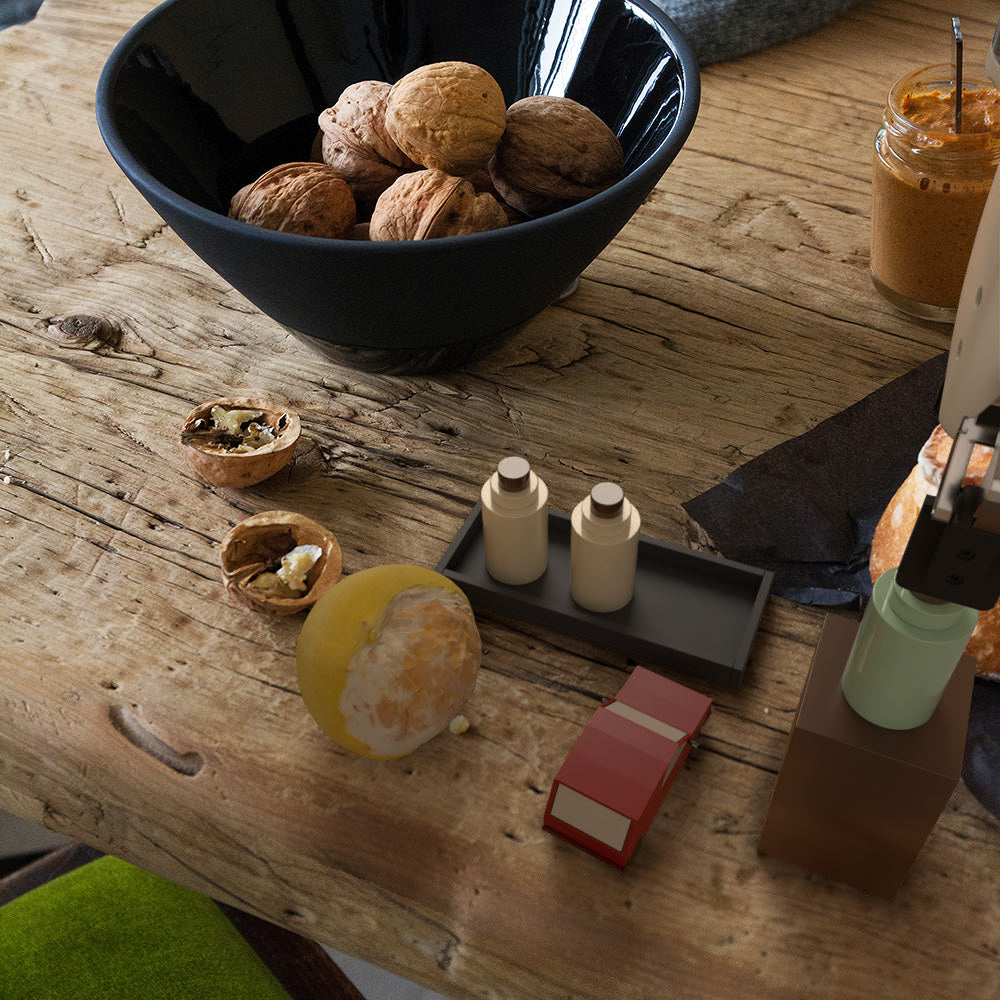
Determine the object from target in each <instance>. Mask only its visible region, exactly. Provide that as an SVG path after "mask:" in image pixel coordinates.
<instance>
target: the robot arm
mask: <svg viewBox="0 0 1000 1000" xmlns="http://www.w3.org/2000/svg"><path fill="white" fill-rule="evenodd" d="M984 69H985V73H986V76H987V79H988V80H989V81H990V82H991V83H992V85H993V87H994V88H995V89H996V90H997V91H998V92H999V93H1000V16H999V17H998V21H997V23H996V27H995V30H994V33H993V37H992V39H991V42H990V46H989V49H988V51H987V55H986V58H985V62H984ZM961 288H962V289H961V292H960V297H959V301H958V307H957V312H956V316H955V321H954V327H953V332H952V338H951V341H950V342H951V343H950V346H949V347H950V348H949V354H948V358H947V359H948V360H947V364H946V365H947V366H946V369H945V372H944V375H943V376H942V377H943V378H942V380H941V383H940V385H939V388H938V391H937V394H936V396H935V399H934V404H933V413H934V414H935V415H936V416H938V423H939V424H940V426H941V428H942V429H943V431H944V432H945V434H946V435H947V436H948V437H949V438H950V440H953V441H952V444H951V447H950V451H949V453H948V456H947V460H946V463H945V467H944V470H943V473H942V475H941V480H940V483H939V485H938V489H937V492H936V495H932V494H928V493H926V495H925V497H924V500H923V502H922V504H921V507H920V510H919V512H918V515H917V517H916V520H915V523H914V525H913V528H912V530H911V533H910V536H909V538H908V541H907V544H906V546H905V549H904V552H903V553H902V554H903V555H902V557H901V559H900V561H899V564H898V566H899V567H898V570H897V575H896V583H897V584H898V586H900V587H901V588H904V589H907V590H910V591H914V592H917V593H921V594H924V595H928V596H931V597H934V598H938V599H941V600H945V601H948V602H952V603H955V604H959V605H962V606H966V607H969V608H973V609H976V610H978V611H980V612H988V611H991V610H993V609H994V608H995V607H996V605H997V603H998V601H999V598H1000V161H999V162H998V165H997V169H996V171H995V174H994V177H993V180H992V183H991V186H990V189H989V192H988V197H987V199H986V201H985V205H984V208H983V212H982V214H981V218H980V221H979V224H978V228H977V231H976V235H975V237H974V241H973V246H972V249H971V254H970V257H969V261H968V264H967V269H966V272H965V276H964V280H963V284H962V287H961ZM975 445H977V446H981V447H985V448H988V449H993V452H992V456H991V458H990V462H989V464H988V467H987V470H986V472H985V474H984V475H983V477H982V479H981V483H980V486H978V485H975V484H974V485H973V484H971V483H969V484H967V485H964V486H963V483H964V480H965V477H966V473H967V470H968V467H969V465H970V461H971V458H972V455H973V451H974V448H975Z"/></svg>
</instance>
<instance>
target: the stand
mask: <svg viewBox="0 0 1000 1000" xmlns="http://www.w3.org/2000/svg"><path fill="white" fill-rule="evenodd" d="M860 623H861V622H860V621H856V620H852V619H849V618H847V617H842V616H839V615H836V614H832V613H830V612H829V613H828V612H826V613H825V616H824V619H823V622H822V626H821V629H820V632H819V635H818V638H817V642H816V645H815V648H814V652H813V653H812V654H813V655H812V657H811V661H810V664H809V667H808V671H807V674H806V676H805V680H804V684H803V687H802V690H801V693H800V696H799V700H798V703H797V706H796V709H795V712H794V716H793V718H792V723H791V725H790V728H789V732H788V734H787V738H786V742H785V744H784V749H783V753H782V755H781V760H780V762H779V767H778V770H777V774H776V778H775V780H774V785H773V788H772V791H771V796H770V799H769V802H768V806H767V810H766V813H765V817H764V821H763V825H762V828H761V831H760V834H759V838H758V842H757V845H756V849H755V850H756V852H758V853H761V854H764V855H767V856H770V857H773V858H775V859H778V860H781V861H783V862H785V863H788V864H791V865H794V866H796V867H799V868H802V869H804V870H807V871H810V872H813V873H815V874H817V875H821V876H823V877H827V878H829V879H832V880H834V881H837V882H839V883H842V884H845V885H848V886H851V887H853V888H856V889H858V890H861V891H864V892H867V893H869V894H872V895H874V896H878V897H880V898H881V899H885V900H888V901H890V902H893V901H894V899H895V897H896V896H897V894H898V892H899V890H900V888H901V887H902V885H903V883H904V881H905V880H906V879H907V876H908V874H909V872H910V871H911V869H912V867H913V865H914V863H915V862H916V860H917V858H918V857H919V854H920V853H921V851H922V849H923V847H924V846H925V844H926V842H927V840H928V838H929V837H930V835H931V833H932V832H933V830H934V829H935V826H936V824H937V823H938V821H939V819H940V817H941V815H942V813H943V812H944V810H945V808H946V806H947V804H948V803H949V801H950V799H951V797H952V796H953V794H954V792H955V790H956V788H957V786H958V785H959V783H960V781H961V774H962V769H963V768H962V767H963V761H964V754H965V747H966V740H967V732H968V726H969V725H968V724H969V719H970V711H971V704H972V699H973V698H972V697H973V696H972V695H973V691H974V682H975V676H976V668H977V661H978V657H977V656H976V655H975V656H974V655H972V654H969V653H968V654H967V653H965V652H963V654H962V656H961V658H960V660H959V662H958V664H957V666H956V669H955V671H954V673H953V675H952V677H951V679H950V681H949V683H948V685H947V687H946V689H945V691H944V693H943V696H942V698H941V700H940V702H939V704H938V706H937V708H936V710H935V712H934V714H933V715H932V717H931V718H930V719H929V720H928V721H927V722H925V723H924V724H922V725H920V726H918V727H915V728H912V729H907V730H894V729H887V728H884V727H880V726H878V725H875V724H873V723H871V722H869V721H867V720H866V719H864V718H863V717H861V716H860V715H859V714H858V713H857V712H856V711H855V710H854V709H853V708H852V707H851V706H850V704H849V703H848V701H847V700H846V698H845V696H844V693H843V690H842V675H843V672H844V669H845V666H846V663H847V660H848V657H849V655H850V652H851V649H852V646H853V643H854V640H855V637H856V635H857V632H858V629H859V626H860Z"/></svg>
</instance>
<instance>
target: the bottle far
mask: <svg viewBox="0 0 1000 1000" xmlns="http://www.w3.org/2000/svg"><path fill="white" fill-rule="evenodd" d="M496 469H497V470H496V471H495V472H494V473H493V474H492V475H491V477H489V479H487V480H486V481H485V483H483V486H482V488H481V489H480V497H481V505H482V521H483V537H484V553H485V565H486V568H487V571H488V572H489V574H490V575H491V576H492V577H493V578H495V579H496V580H498V581H500V582H502V583H505V584H510V585H522V584H527V583H530V582H533V581H535V580H536V579H538V578H539V577H540V576H541V575H542V574H543V573H544V572H545V570H546V568H547V565H548V508H549V490H548V487H547V484H546V483H545V482H544V480H543V479H542V478H541V477H540V476H539V475H538V476H537V474H536V473H535V472H534V471H533V470H532V469H531V465H530V463H529V461H528V460H527V459H525V458H524V457H521V456H507V457H505V458H503V459H501V460H500V461H499V463H498V464H497V466H496Z"/></svg>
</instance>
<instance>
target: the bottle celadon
mask: <svg viewBox="0 0 1000 1000" xmlns="http://www.w3.org/2000/svg"><path fill="white" fill-rule="evenodd" d="M898 567H899V565H897V566H894V567H892V568H889V569H888V570H886V571H884V572H883V573H881V574H880V575H879V577H877V579H876V580H875V582H874V583H873V586H872V590H871V592H870V595H869V597H868V601H867V603H866V606H865V609H864V612H863V615H862V617H861V621H860V622H859V623H860V626H859V629H858V632H857V635H856V637H855V640H854V643H853V646H852V649H851V652H850V655H849V657H848V660H847V663H846V666H845V669H844V672H843V675H842V690H843V693H844V696H845V698H846V700H847V701H848V703H849V704H850V706H851V707H852V708H853V709H854V710H855V711H856V712H857V713H858V714H859V715H860V716H861V717H863V718H864V719H866V720H867V721H869V722H871V723H873V724H875V725H878V726H880V727H884V728H887V729H894V730H907V729H912V728H915V727H918V726H920V725H922V724H924V723H925V722H927V721H928V720H929V719H930V718H931V717H932V715H933V714H934V712H935V710H936V708H937V706H938V704H939V702H940V700H941V698H942V696H943V693H944V691H945V689H946V687H947V685H948V683H949V681H950V679H951V677H952V675H953V673H954V671H955V669H956V666H957V664H958V662H959V660H960V658H961V656H962V654H963V653H965V650H966V648H967V646H968V644H969V641H970V640H971V638H972V635H973V633H974V632H975V629H976V627H977V625H978V622H979V617H980V616H979V615H980V613H979V610H976V609H973V608H969V607H966V606H962V605H959V604H955V603H952V602H948V601H945V600H941V599H938V598H934V597H931V596H928V595H924V594H921V593H917V592H914V591H910V590H907V589H904V588H901V587H900V586H898V584H897V583H896V575H897V570H898Z"/></svg>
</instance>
